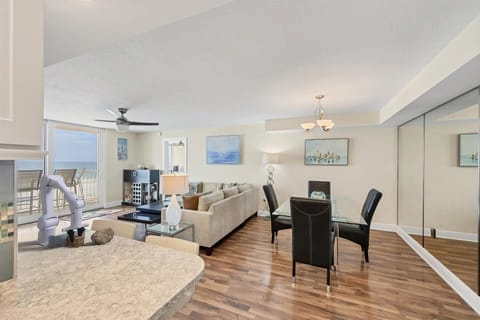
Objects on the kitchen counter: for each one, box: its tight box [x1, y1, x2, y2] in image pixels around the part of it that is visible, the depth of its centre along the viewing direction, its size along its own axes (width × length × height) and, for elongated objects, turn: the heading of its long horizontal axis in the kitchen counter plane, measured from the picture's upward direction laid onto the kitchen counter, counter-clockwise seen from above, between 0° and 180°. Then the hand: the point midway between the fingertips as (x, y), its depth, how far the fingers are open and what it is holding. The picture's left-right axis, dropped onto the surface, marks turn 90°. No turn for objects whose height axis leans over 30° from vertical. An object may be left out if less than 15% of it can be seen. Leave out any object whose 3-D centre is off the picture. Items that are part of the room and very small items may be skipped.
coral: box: [90, 227, 115, 245], centre depth 139 cm, size 14×9×10 cm, turn 153°
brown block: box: [66, 235, 85, 248], centre depth 133 cm, size 13×4×5 cm, turn 65°
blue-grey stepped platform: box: [47, 230, 86, 249], centre depth 136 cm, size 5×20×7 cm, turn 155°
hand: (75, 240), depth 133 cm, fingers closed on brown block, 3 cm apart
